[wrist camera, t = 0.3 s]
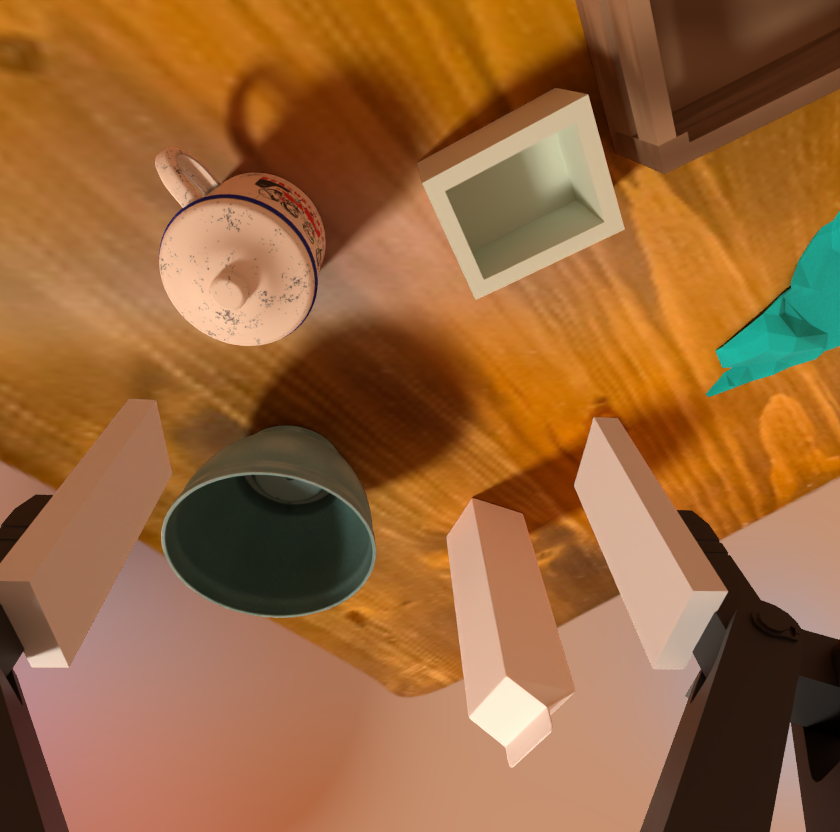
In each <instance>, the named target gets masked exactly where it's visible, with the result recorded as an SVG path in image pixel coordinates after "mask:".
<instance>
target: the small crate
mask: <svg viewBox="0 0 840 832" xmlns="http://www.w3.org/2000/svg"><path fill="white" fill-rule="evenodd" d="M417 166H418V170H419V174H420V177H421V181H422V184H423V186H424V188H425V191H426V193H427V195H428V197H429V199H430V202H431V204H432V206H433V208H434V210H435V212H436V215H437V217H438V219H439V221H440V223H441V226H442V228H443V230H444V232H445V234H446V236H447V239H448V241H449V243H450V245H451V247H452V250H453V252H454V254H455V256H456V258H457V260H458V263H459V265H460V267H461V269H462V271H463V274H464V276H465V278H466V280H467V282H468V284H469V287H470V289H471V291H472V293H473V295H474V298H475V300H477V299H479V298H481V297H483V296H485V295H487V294H489V293H492V292H494V291H496V290H498V289H500V288H502V287H504V286H506V285H508V284H511V283H513V282H515V281H517V280H519V279H521V278H523V277H525V276H527V275H530V274H532V273H534V272H536V271H538V270H540V269H542V268H544V267H546V266H549V265H551V264H553V263H555V262H557V261H559V260H561V259H563V258H565V257H567V256H570V255H572V254H574V253H576V252H578V251H580V250H582V249H584V248H586V247H589V246H591V245H593V244H595V243H597V242H599V241H601V240H603V239H605V238H608V237H610V236H612V235H614V234H616V233H618V232H620V231H622V230H624V225H623V221H622V218H621V214H620V210H619V206H618V203H617V199H616V195H615V192H614V188H613V184H612V181H611V177H610V173H609V170H608V166H607V162H606V158H605V155H604V151H603V147H602V144H601V140H600V136H599V133H598V129H597V125H596V121H595V118H594V114H593V110H592V107H591V103H590V99H589V96H588V94H584V93H579V92H574V91H569V90H565V89H560V88H554V89H552V90H550V91H548V92H547V93H545V94H543V95H541V96H539V97H537V98H536V99H534V100H532V101H530V102H528V103H526V104H525V105H523V106H521V107H519V108H517V109H515V110H513V111H512V112H510V113H508V114H506V115H504V116H502V117H501V118H499V119H497V120H495V121H493V122H491V123H490V124H488V125H486V126H484V127H482V128H480V129H479V130H477V131H475V132H473V133H471V134H469V135H468V136H466V137H464V138H462V139H460V140H458V141H456V142H455V143H453V144H451V145H449V146H447V147H445V148H444V149H442V150H440V151H438V152H436V153H434V154H433V155H431V156H429V157H427V158H425V159H423V160H422V161H420V162H418V163H417Z"/></svg>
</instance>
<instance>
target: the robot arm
mask: <svg viewBox="0 0 840 832" xmlns="http://www.w3.org/2000/svg"><path fill="white" fill-rule="evenodd" d="M171 475H172V471H171V466H170V462H169V457H168V452H167V448H166V443H165V439H164V434H163V429H162V425H161V420H160V416H159V411H158V407H157V402H156V400H144V399H128V401H127V402H126V403H125V404H124V406H123V407H122V408H121V410H120V411H119V412H118V413H117V415H116V416H115V417H114V418H113V420H112V421H111V422H110V424H109V425H108V426H107V427H106V429H105V430H104V431H103V433H102V434H101V435H100V436H99V438H98V439H97V440H96V442H95V443H94V444H93V445H92V447H91V448H90V449H89V450H88V452H87V453H86V454H85V456H84V457H83V458H82V459H81V461H80V462H79V463H78V465H77V466H76V467H75V468H74V470H73V471H72V472H71V473H70V475H69V476H68V477H67V479H66V480H65V481H64V482H63V484H62V485H61V486H60V488H59V489H58V490H57V491H56V493H55V494H54V495H35V496H33V497H32V498H30V499H29V500H27V501H26V502H24V503H23V504H21V505H20V506H18V507H17V508H15V509H14V510H13V512H12V513H11V514H10V515H9V516H8V517H7V519H6V520H5V521H4V522H3V523H2V525H1V528H0V832H69V830H68V827H67V824H66V821H65V818H64V815H63V812H62V809H61V806H60V803H59V800H58V797H57V795H56V791H55V788H54V785H53V782H52V779H51V776H50V773H49V771H48V767H47V764H46V762H45V759H44V756H43V753H42V750H41V747H40V744H39V741H38V738H37V735H36V732H35V729H34V726H33V723H32V720H31V717H30V714H29V711H28V708H27V705H26V702H25V699H24V696H23V693H22V690H21V687H20V684H19V681H18V678H17V675H16V674H15V672H14V670H13V667H14V665H15V664H16V662H17V660H18V659H19V657H20V656H21V654H22V652H23V651H24V653H25V655H26V657H27V659H28V661H29V663H30V665H31V667H69V666H70V665H71V663H72V661H73V659H74V657H75V655H76V653H77V651H78V650H79V648H80V646H81V644H82V642H83V640H84V638H85V636H86V635H87V633H88V631H89V629H90V627H91V625H92V623H93V622H94V619H95V618H96V616H97V614H98V612H99V610H100V608H101V606H102V605H103V603H104V601H105V599H106V597H107V595H108V593H109V592H110V590H111V588H112V586H113V584H114V582H115V580H116V578H117V577H118V575H119V573H120V571H121V569H122V567H123V565H124V563H125V561H126V559H127V558H128V556H129V554H130V552H131V550H132V548H133V547H134V544H135V543H136V541H137V539H138V537H139V535H140V533H141V532H142V530H143V528H144V526H145V524H146V522H147V520H148V518H149V517H150V515H151V513H152V511H153V509H154V507H155V505H156V503H157V502H158V500H159V498H160V496H161V494H162V492H163V490H164V488H165V487H166V485H167V483H168V481H169V479H170V477H171ZM574 487H575V490H576V492H577V494H578V497H579V499H580V501H581V503H582V506H583V508H584V510H585V513H586V515H587V517H588V520H589V522H590V524H591V527H592V529H593V531H594V534H595V536H596V538H597V541H598V543H599V545H600V548H601V550H602V552H603V555H604V557H605V559H606V562H607V564H608V566H609V568H610V571H611V573H612V575H613V578H614V580H615V582H616V585H617V587H618V589H619V592H620V594H621V596H622V599H623V601H624V603H625V606H626V608H627V610H628V613H629V615H630V617H631V620H632V622H633V624H634V626H635V629H636V631H637V633H638V636H639V638H640V640H641V643H642V645H643V647H644V650H645V652H646V654H647V657H648V659H649V661H650V664H651V666H652V668H653V669H685V667H686V665H687V663H688V662H689V660H690V658H691V656H692V655H693V654H694V656H695V658H696V660H697V662H698V664H699V666H700V668H701V670H700V672H699V674H698V675H697V677H696V679H695V680H694V682H693V684H692V685H691V687H690V689H689V690H688V692H687V694H686V697H688V698H689V699H688V701H687V704H686V707H685V710H684V713H683V715H682V718H681V721H680V724H679V726H678V729H677V732H676V734H675V737H674V740H673V743H672V745H671V749H670V751H669V754H668V756H667V759H666V762H665V765H664V767H663V770H662V773H661V776H660V779H659V781H658V784H657V787H656V789H655V792H654V795H653V797H652V800H651V803H650V806H649V809H648V811H647V814H646V817H645V819H644V822H643V825H642V828H641V830H640V832H770V827H771V821H772V816H773V811H774V805H775V800H776V794H777V788H778V783H779V778H780V773H781V767H782V762H783V757H784V751H785V746H786V741H787V735H788V730H789V724H790V722H791V726H792V733H793V740H794V748H795V755H796V762H797V769H798V777H799V784H800V790H801V798H802V805H803V812H804V820H805V826H806V832H840V640H838V639H834V638H831V637H827V636H824V635H820V634H816V633H813V632H809V631H806V630H803V629H801V628H800V626H799V625H798V623H797V622H796V621H795V620H794V619H793V618H792V617H791V616H790V615H789V614H788V613H786V612H785V611H783V610H782V609H780V608H778V607H777V606H775V605H772V604H770V603H767V602H765V601H761V600H760V598H759V597H758V595H757V594H756V592H755V591H754V589H753V588H752V587H751V585H750V584H749V582H748V581H747V579H746V578H745V577H744V575H743V573H742V572H741V571H740V569H739V568H738V566H737V565H736V563H735V562H734V560H733V559H732V557H731V556H730V555H728V552H727V550H726V549H725V547H724V546H723V544H722V543H720V542H719V539H718V537H717V536H716V534H715V533H714V531H713V530H712V528H711V527H710V525H709V524H708V523H706V522H705V521H704V520H703V519H702V518H700V517H699V516H698V515H697V514H696V513H694V512H693V511H689V510H676V509H675V507H674V505H673V504H672V502H671V501H670V499H669V498H668V496H667V495H666V493H665V491H664V490H663V488H662V487H661V485H660V484H659V482H658V480H657V479H656V477H655V476H654V474H653V473H652V471H651V469H650V468H649V466H648V465H647V463H646V462H645V460H644V458H643V457H642V455H641V454H640V452H639V451H638V449H637V447H636V446H635V444H634V443H633V441H632V440H631V438H630V436H629V435H628V433H627V432H626V430H625V429H624V427H623V425H622V424H621V422H620V421H619V419H618V418H602V417H594V419H593V422H592V426H591V429H590V432H589V436H588V439H587V443H586V446H585V449H584V453H583V456H582V460H581V463H580V467H579V470H578V473H577V477H576V480H575V484H574Z"/></svg>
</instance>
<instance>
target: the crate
mask: <svg viewBox="0 0 840 832" xmlns="http://www.w3.org/2000/svg"><path fill="white" fill-rule="evenodd" d="M576 3H577V7H578V11H579V15H580V19H581V23H582V26H583V30H584V34H585V38H586V42H587V46H588V50H589V53H590V57H591V61H592V65H593V69H594V73H595V77H596V80H597V84H598V88H599V92H600V96H601V100H602V104H603V107H604V111H605V115H606V119H607V123H608V127H609V131H610V134H611V138H612V142H613V146H614V150H615V153H617V154H620V155H622V156H624V157H626V158H629V159H631V160H633V161H636V162H638V163H640V164H642V165H645V166H647V167H649V168H652V169H654V170H656V171H658V172H661V173H663V174H666V173H668V172H670V171H672V170H674V169H676V168H678V167H680V166H682V165H684V164H686V163H688V162H691V161H693V160H695V159H697V158H699V157H701V156H703V155H705V154H707V153H709V152H711V151H713V150H715V149H717V148H719V147H721V146H723V145H725V144H727V143H729V142H731V141H734V140H736V139H738V138H740V137H742V136H744V135H746V134H748V133H750V132H752V131H754V130H756V129H758V128H760V127H762V126H764V125H766V124H768V123H770V122H772V121H774V120H777V119H779V118H781V117H783V116H785V115H787V114H789V113H791V112H793V111H795V110H797V109H799V108H801V107H803V106H805V105H807V104H809V103H811V102H813V101H815V100H817V99H820V98H822V97H824V96H826V95H828V94H830V93H832V92H834V91H836V90H838V89H840V0H576Z"/></svg>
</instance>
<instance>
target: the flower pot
mask: <svg viewBox="0 0 840 832" xmlns="http://www.w3.org/2000/svg"><path fill="white" fill-rule="evenodd" d="M287 477H288V478H287ZM290 478H291V479H290ZM161 542H162V548H163V551H164V554H165V557H166V559H167V561H168V563H169V565H170V567H171V568H172V570H173V571H174V572H175V574H176V575H177V576H178V577H179V579H180V580H181V581H182V582H183V583H185V585H187V586H188V587H189V588H190V589H192V590H193V591H194V592H196V593H197V594H198V595H200V596H202V597H204V598H205V599H207V600H209V601H211V602H212V603H215V604H217V605H219V606H222V607H224V608H227V609H230V610H233V611H237V612H240V613H245V614H250V615H256V616H261V617H274V618H287V617H297V616H305V615H309V614H314V613H317V612H321V611H324V610H327V609H330V608H332V607H335V606H337V605H339V604H341V603H342V602H344V601H346V600H347V599H349V598H350V597H352V596H353V595H354V594H355V593H356V592H358V591H359V590H360V589H361V587H362V586H363V585H364V584H365V583H366V581H367V579H368V578H369V576H370V574H371V572H372V570H373V567H374V564H375V560H376V545H375V538H374V532H373V529H372V518H371V512H370V507H369V503H368V500H367V497H366V494H365V491H364V489H363V487H362V484H361V482H360V481H359V479H358V477H357V475H356V474H355V472H354V471H353V469H352V468H351V467H350V465H349V464H348V463H347V462H346V460H345V459H344V458H343V457H342V456H341V455H340V454H339V453H338V451H337V450H336V448H335V447H334V446H333V445H332V443H330V442H329V441H328V440H327V439H326V438H325V437H323V436H322V435H320V434H318V433H316V432H314V431H312V430H309V429H306V428H302V427H298V426H288V425H284V426H274V427H270V428H267V429H264V430H262V431H259V432H258V433H256V434H254V435H251V436H248V437H245V438H243V439H240V440H238V441H236V442H234V443H232V444H230V445H228V446H227V447H225V448H223V449H222V450H220V451H219V452H218V453H216V454H215V455H214V456H213V457H211V458H210V459H209V460H208V461H207V462H206V463H205V464H204V465H203V466H202V467H201V468H200V469H199V470H198V471H197V472H196V473H195V474H194V476H193V477H192V478H191V479H190V481H189V482H188V484H187V485H186V487H185V488H184V490H183V492H182V493H181V494H180V495H179V496H178V497H177V499H176V500H175V501H174V503H173V504H172V506H171V507H170V509H169V511H168V512H167V514H166V516H165V519H164V522H163V526H162V530H161Z"/></svg>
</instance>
